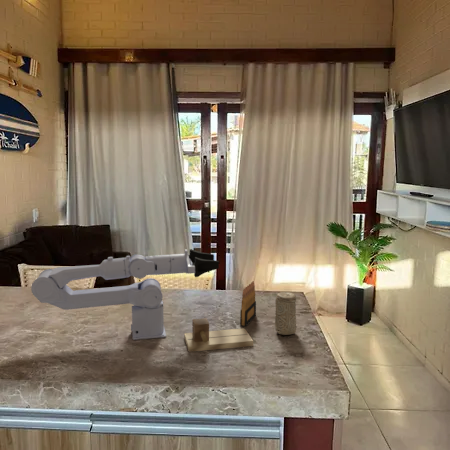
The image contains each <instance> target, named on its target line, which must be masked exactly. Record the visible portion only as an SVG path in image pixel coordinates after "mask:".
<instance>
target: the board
mask: <svg viewBox="0 0 450 450" xmlns="http://www.w3.org/2000/svg"><path fill="white" fill-rule="evenodd" d="M245 328H246V327H244V328H231V329H220V330H209V341H207V342H206V343H204V342H203V341H202V342H195V341H194V339H193V336H192V332H187V333H183V334H184V336H183V339H184V342H185V345H186V348H187V351H188V352H189V353H191V352H193V353H194V352H203V351H214V350H224V349H232V348H233V349H234V348H244V347H253V346H254V340H253V339H252V337H251V335H250V334H249V333H248V331H247V330H246V329H245Z"/></svg>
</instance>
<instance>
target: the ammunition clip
mask: <svg viewBox="0 0 450 450" xmlns="http://www.w3.org/2000/svg"><path fill="white" fill-rule="evenodd" d="M255 286H256V285H255V282H254V281H252V282H250V283H249V284H248V285H247V286H246V287H244V288H243V289H242V296H241V298H242V299H241V309H240V316H239V317H240V318H239V319H240V320H239V321H240V322H239V323H240V324H239V326H240V327H244V328H246V327H247V326H248V325H249V324H250V323H251V322H252V321H253V319H254V318H255V317H256V315H257V301H256V288H255Z"/></svg>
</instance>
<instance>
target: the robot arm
mask: <svg viewBox="0 0 450 450" xmlns="http://www.w3.org/2000/svg"><path fill="white" fill-rule="evenodd" d="M219 264H220V263H219V261H218V260H215V254H212V253H207V252H201V251H197V250H195V249H192V248H189V253H188V249H186V248H185V249H184V253H172V254H171V253H170V254H169V253H168V254H159V255H158V254H155V255H143V254H137V253H135V254H133V255H131V256H130V255H126V256H125V257H118V258H114V256H108V257H107V259H104V260H102V262H101V263H100V264H89V265H87V264H86V265H75V266H71V265H70V266H58V267H53V269H52V268H48V269H44V270H42V271H41V272H40V273H39V275H38V277H37V278H35V279H34V281H33V282H32V284H31V286H30V287H31V288H30V290H31V293H32V295H33V296H34V297H35V299H37V301H38V302H40V303H41V304H48V305H51V306H54V307H57V308H58V309H61V310H67V311H68V310H79V309H86V308H87V309H89V308H97V307H108V306H117V305H127V304H128V305H129V304H130V305H131V324H130V331H131V332H132V340H134V341H137V340H147V339H158V338H160V339H161V338H167V333H166V329H165V325H164V323H165V322H164V320H165V319H164V300H163V292H162V288H161V283H160V282H159V281H158V280H157V279H156V278H153V277H151V278H150V277H149V278H146V277H147V276H158V275H159V276H160V275H174V274H175V275H176V274H177V275H178V274H186V275H187V274H189V275H190V274H193V275H194V278H199V277H200V276H201V275H203V274H206V273H209V272H212V271H215V270H217V269H218V270H219V268H220V267H219V266H220V265H219ZM97 277H101V278H102V279H104V280H105V281H108V280H117V279H125V278H129V277H133V278H136V279H139V280H141V279H144V278H145V279H144V280H142V281H139V282H134V283H131V284H130V285H122V286H112V287H110V286H109V287H100V288H99V287H97V288H87V289H77V290H76V289H75V290H73V289H72V288H71V287H69V285H68V284H69V283H70V282H72V281H79V280H83V279H84V280H85V279H92V278H97Z"/></svg>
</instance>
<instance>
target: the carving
mask: <svg viewBox="0 0 450 450" xmlns="http://www.w3.org/2000/svg"><path fill="white" fill-rule="evenodd" d="M296 301H297V296H296V294H295V293H293V292H287V291H282V292H278V293H277V294H276V296H275V302H274V303H275V310H274V312H275V313H274V314H275V317H274V325H275V326H274V328H275V331H276V333H277V334H279V335H283V336H287V335H294V334H296V331H297V309H296V308H297V307H296Z"/></svg>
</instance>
